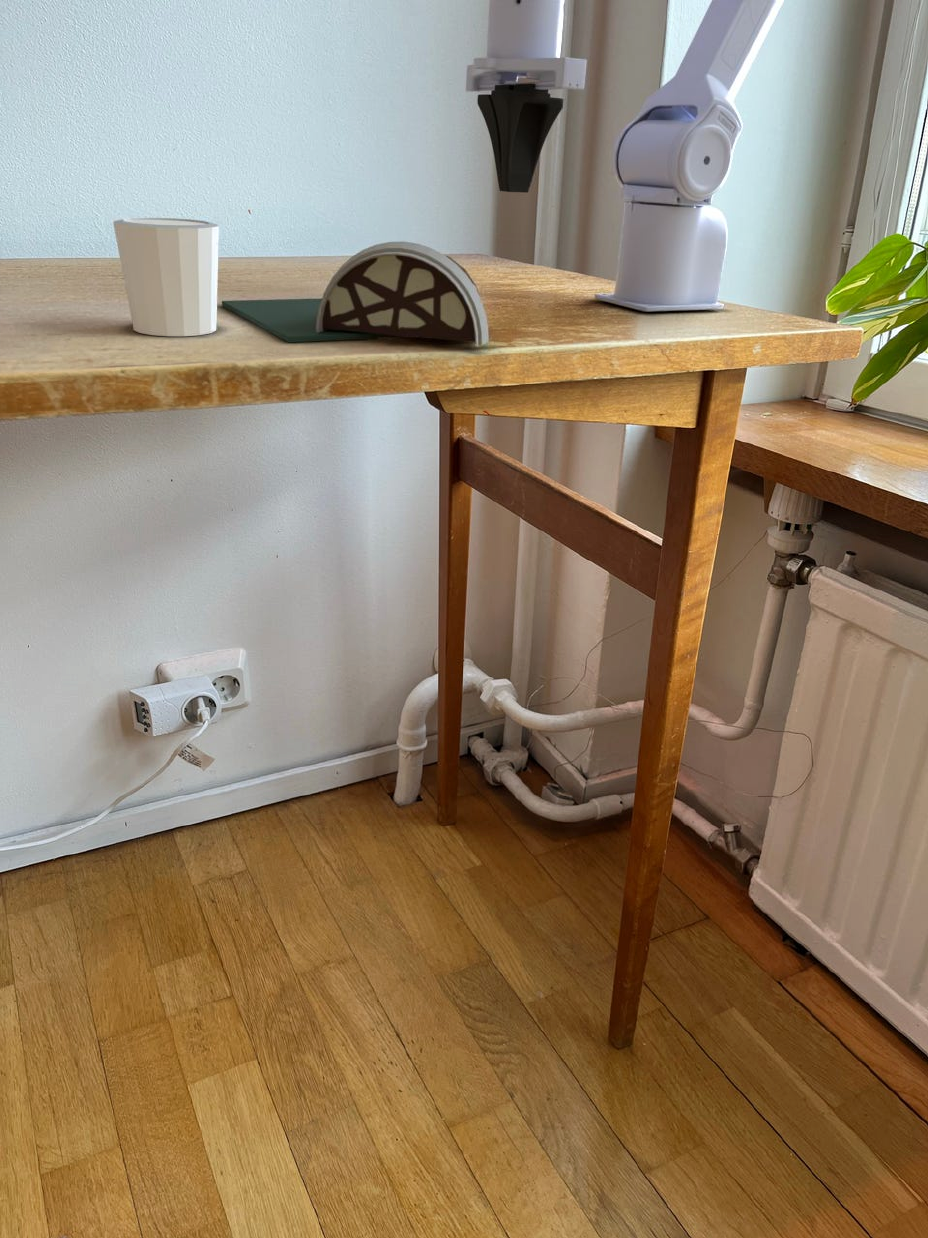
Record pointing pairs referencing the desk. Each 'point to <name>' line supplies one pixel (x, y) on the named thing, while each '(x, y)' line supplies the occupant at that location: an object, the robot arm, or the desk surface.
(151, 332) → the white cup
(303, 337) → the mat
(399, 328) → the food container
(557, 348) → the desk surface
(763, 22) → the robot arm
